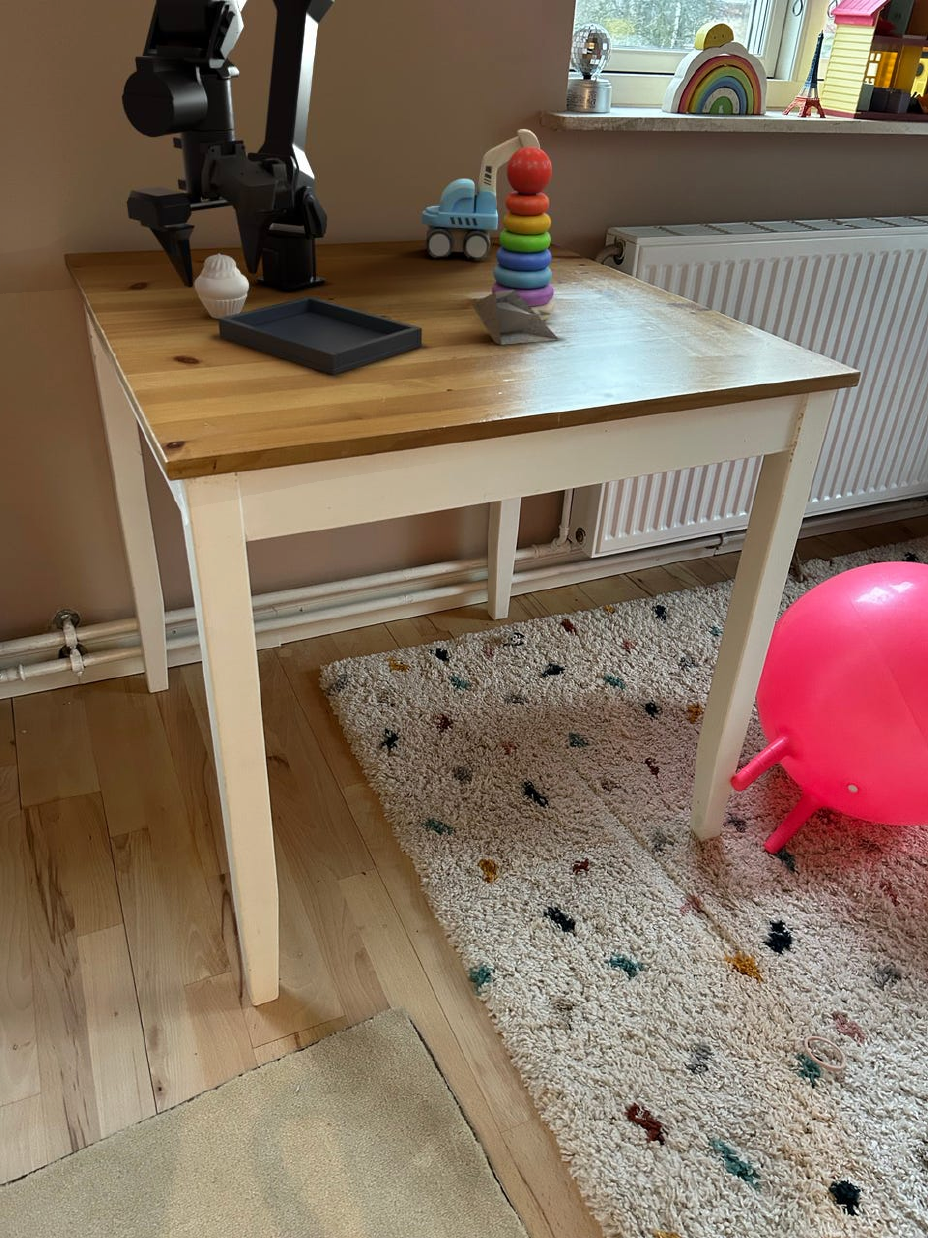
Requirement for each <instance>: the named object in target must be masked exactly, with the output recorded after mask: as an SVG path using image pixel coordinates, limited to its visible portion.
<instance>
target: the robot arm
mask: <svg viewBox="0 0 928 1238" xmlns="http://www.w3.org/2000/svg"><path fill="white" fill-rule="evenodd" d="M271 1H272V4H273V5H274V7H275V10H276V13H275V14H276V17H275V27H274V37H273V47H272V58H271V69H270V79H269V88H268V97H267V98H268V99H267V109H266V119H265V131H264V140H263V143H262V144H261V146H260V147H259V149H258V150H257V151H256V152H251V151H250V152H248V153H247V147H246V145H245V143H244V142H245V141H244V140H243V139H239V138H236V128H235V117H234V116H235V115H234V103H233V91H232V79H233V78H234V79H235V78H238V77H239V76H240V71H239V69H238V68H237V66H236V65H235V64H234V63H233V62H232V61H231V60H230V59H229V58H228V55H229V54H230V53H231V52H232V51H233V49H234V48H235V46H236V43H237V41H238V39H239V38H240V35H241V33H242V31H243V29H244V20H243V15H242V10H243V8H244V6H245V5H246V3H247V2H248V0H155V4H154V6H153V10H152V11H153V12H152V16H151V19H150V23H149V27H148V31H147V36H146V40H145V43H144V47H143V52H142V55H138V56H135V58H134V62H135V69H136V70H135V71H134V72H132V73H131V74H130V75H129V76H128V78H127V79H126V81H125V83H124V86H123V93H122V95H121V104H122V108H123V111H124V114H125V115H126V119H127V120H128V122H129V123H130V125H131V126H132V127H133V128H134V129H135V130H136V131H137V132H138V133H140V134H142V135H143V136H146V137H149V138H160V137H165V136H170V135H176V134H179V136H173V137H172V143H173V148H174V149H180V150H181V154H182V155H181V157H182V165H183V174H184V178H183V177H182V178H177V186H178V190H181V191H178V190H174V189H169V188H164V187H161V186H154V187H147V188H138V189H131V190H130V192H129V194H128V196H127V200H126V208H127V216H128V219H130V220H134V221H138V222H139V224H140V226H141V227H145V228H148V229H149V230H150V232H151V233H152V234H153V236H154V237H155V238H156V240H157V242H158V243H159V244H160V246H161V247H162V249H163V250H164V252H165V254H166V255H167V257H168V259H169V261H170V263H171V264H172V266H173V268H174V269H175V271H176V273H177V275H178V277H179V279H180V280H181V282H182V284H183V285H184V287H187V288H193V287H194V270H193V263H192V262H193V261H192V253H191V251H192V250H191V244H190V243H191V242H190V238H191V236H192V235H193V232H194V230H195V226H196V225H194V224H191V223H188V221H189V219H190V218H191V216H192V214H193V213H192V212H199V211H204V210H211V209H219V208H224V207H232V208H233V210H234V212H235V217H236V222H237V227H238V228H237V229H238V232H239V238H240V242H241V247H242V254H243V258H244V262H245V266H246V268H247V272H248V273H249V274H250V275H256V274H257V273H258V270H259V266H260V262H261V269H262V270H261V271H262V276H260V277H257V278H256V281H257V283H260V284H264V285H267V286H270V287H275V288H279V289H281V290H285V291H296V290H300V289H305V288H308V287H309V288H310V287H313V286H316V285H322V284H325V283H326V279H325V278H323V277H320V276H317V257H316V255H317V254H316V253H317V252H316V239H323V238H325V234H326V233H327V229H328V228H327V227H328V215H327V214H326V211H325V210H324V207H323V206H322V204H321V202H320V200H319V198H318V196H317V194H316V192H315V179H316V178H315V175H314V173H313V171H312V168H311V166H310V163H309V161H308V159H307V156H306V153H305V150H306V149H305V147H306V138H307V130H308V121H309V110H310V101H311V94H312V93H311V92H312V84H313V73H314V64H315V55H316V44H317V35H318V27H319V24H320V23H321V21H322V20H323V18H324V17H325V15H326V14H327V13H328V12H329V10H330V9H331V7H332V5H333V4H334V2H335V0H271ZM182 191H183V192H182ZM184 191H186V192H184Z"/></svg>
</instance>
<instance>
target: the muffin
mask: <svg viewBox="0 0 928 1238" xmlns="http://www.w3.org/2000/svg"><path fill="white" fill-rule="evenodd" d="M193 287H194V290H195V291H196V293H197V294H198V295H197V296H198V298H199V300H200V301H201V303H202V305H203V306H204V308H205V309H206V311H207V313H208V315H209V316H210V317H211V318H212V319H216V320H218V318H222V317H226V316H230V315H234V314H239V313H242V312H241V311H242V310H243V307H244V305H245V302H246V300H247V297H248V292H249V289H250V284H249V280H248V279H247V277H246V276H245V275H244V274H242V273H241V271H240V270H239V268H237V263H236V260H235V259H233V257H231V256H229V255H226V254H221V253H219V252H218V253H217V254H213V255H210V256H208V257H206V258H205V260H204V261H203V268H202V270H201V272H200V274H199V276H198V277H197V278H196V279H195V280H194V282H193Z"/></svg>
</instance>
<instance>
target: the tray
mask: <svg viewBox="0 0 928 1238" xmlns="http://www.w3.org/2000/svg"><path fill="white" fill-rule="evenodd" d="M217 322H218V331H219V332H218V333H219V338H221V339H223V340H226V341H229V342H232V343H236V344H239V345H242V346H245V347H248V348H250V349H254V350H257V351H259V352H262V353H265V354H267V355H268V354H269V355H272V356H274V357H277V358H281V359H283V360H286V361H290V362H292V363H296V364H297V365H298V364H299V365H302V366H305V367H308V368H309V369H310V368H311V369H314V370H317V371H320V372H323V373H325V374H329V375H331V376H335V375H338V374H339V375H340V374H342V373H344V372H347V371H351V370H354V369H357V368H360V367H363V366H366V365H369V364H372V363H376V362H379V361H382V360H385V359H388V358H391V357H394V356H398V355H400V354H403V353H406V352H409V351H412V350H416V349H418V348H422V346H423V343H422V342H423V328H422V327H421V326H416V325H413V324H410V323H407V322H403V321H399V320H395V319H392V318H388V317H385V316H381V315H378V314H374V313H370V312H367V311H363V310H360V309H356V308H352V307H349V306H345V305H342V304H339V303H335V302H331V301H328V300H324V299H320V298H316V297H313V296H306V297H302V298H298V299H297V298H296V299H293V300H289V301H284V302H280V303H277V304H272V305H268V306H264V307H259V308H255V309H251V310H247V311H243V312H240V313H239V314H234V315H230V316H226V317H222V318H218V319H217Z"/></svg>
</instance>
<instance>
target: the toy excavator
mask: <svg viewBox="0 0 928 1238" xmlns="http://www.w3.org/2000/svg"><path fill="white" fill-rule="evenodd" d="M524 147H536V148H539V149H541V145H540V141H539V140H538V137H537V136H536V134H534V132H532V131H531V130H529V129H526V128H522V129H518V130H517V136H515V137H512V138H510V139H508V140H506V141H504V142H502V143H500V144H498V145H496V146H494V147H492V148H490V149H489V150H488V151H487V152H486V153H485V154H484V155H483V158H482V161H481V165H480V170H479V178H478V185H477V190H476V185H475V182H474V181H473V180H472V179H470V178H457V179H455V180H453V181H452V182H450V183H449V184H448V185H447V186H446V187H445V189H443V191H442V193H441V195H440V198H439V205H432V206H428V207H426V208H425V210H423V211H422V213H421V214H422V215H421V223H423V225H426V226H427V231H426V238H425V247H426V251H427V252H428V254H429V255H430V256H431V257H432V258H434V259H438V258H439V259H440V258H447V257H449V255H451V253H452V252H455V253H456V252H457V253H463V254H464V255H465V256H466V258H467V259H472V260H473V261H474V262H479V261H483V260H484V259H485V258H487V256H488V255H489V253H490V250H491V241H490V231H496V230H498V221H499V215H498V210H497V205H498V204H497V202H498V201H497V200H498V199H497V172H498V170H499V168H500V167H502V166H503V165H504V164H506V163H508V162H509V160H510V158H511V156H512V155H513V154H514V153H515V152H516V151H517V150H519V149H521V148H524ZM476 191H477V193H476Z"/></svg>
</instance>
